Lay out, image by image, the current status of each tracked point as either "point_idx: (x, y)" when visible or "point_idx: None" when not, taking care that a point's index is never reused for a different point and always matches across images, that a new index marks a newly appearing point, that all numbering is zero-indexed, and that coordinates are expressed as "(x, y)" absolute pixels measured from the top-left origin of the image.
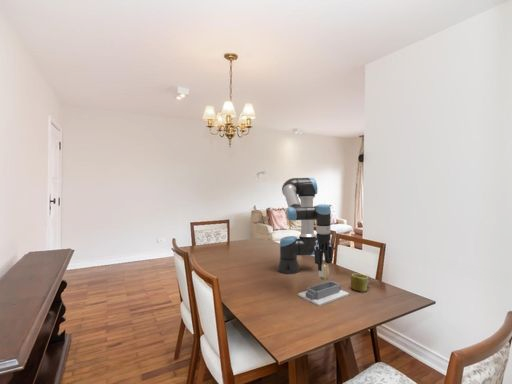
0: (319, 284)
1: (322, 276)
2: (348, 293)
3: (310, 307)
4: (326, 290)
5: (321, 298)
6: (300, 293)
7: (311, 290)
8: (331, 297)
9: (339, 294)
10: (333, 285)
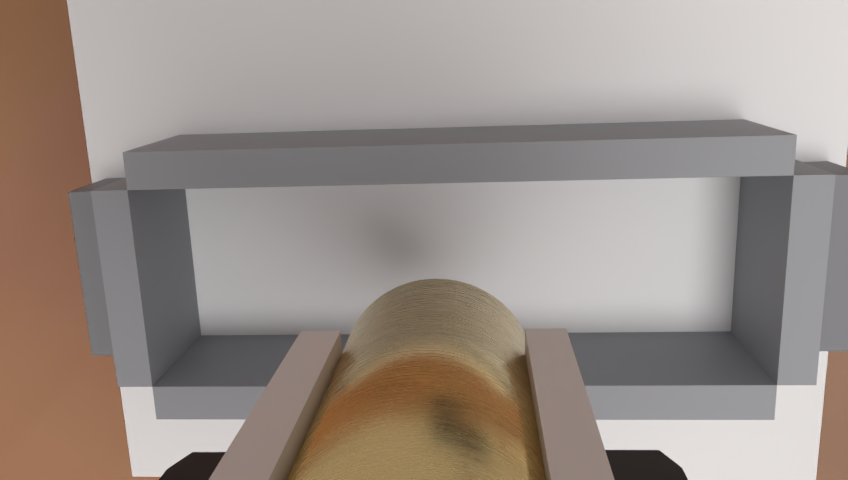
0: (453, 168)
1: None
2: (800, 476)
3: (15, 416)
4: None
5: None
6: (105, 20)
7: (107, 301)
8: None
9: (644, 423)
10: (763, 250)
